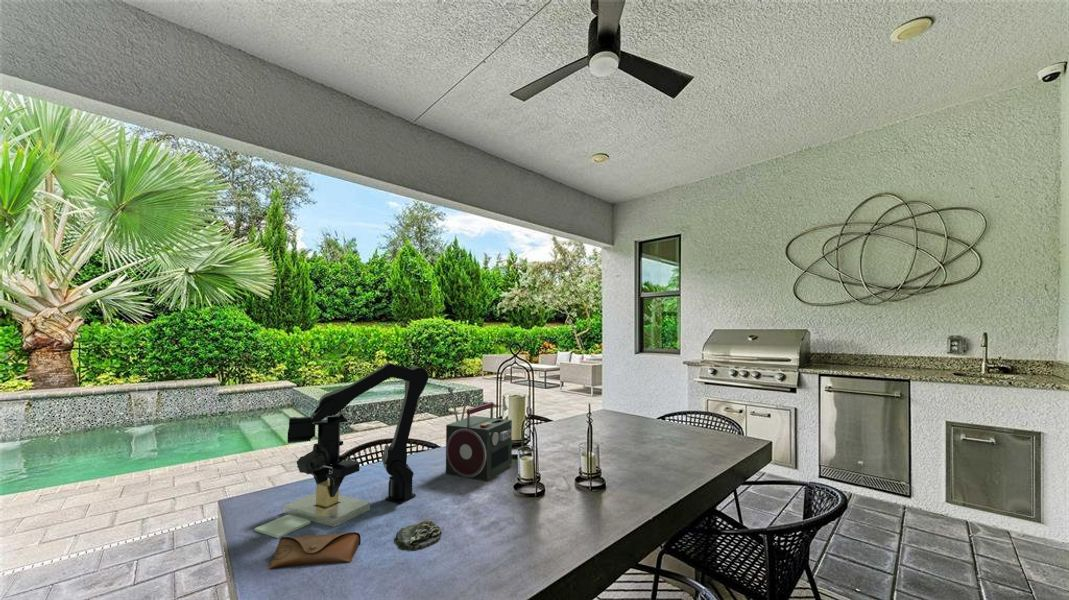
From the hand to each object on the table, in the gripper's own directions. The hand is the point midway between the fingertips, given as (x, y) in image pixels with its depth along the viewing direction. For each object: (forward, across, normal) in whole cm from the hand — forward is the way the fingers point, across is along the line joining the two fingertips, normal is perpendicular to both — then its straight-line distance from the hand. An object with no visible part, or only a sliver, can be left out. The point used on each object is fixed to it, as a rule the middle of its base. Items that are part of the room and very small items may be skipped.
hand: (327, 495), depth 122 cm
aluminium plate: (+4, 0, 0) cm, 4 cm away
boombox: (+5, +19, +48) cm, 52 cm away
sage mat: (+4, -2, -12) cm, 12 cm away
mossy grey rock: (+5, +34, -1) cm, 34 cm away
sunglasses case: (+5, +18, -18) cm, 26 cm away
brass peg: (+4, 0, 0) cm, 4 cm away
